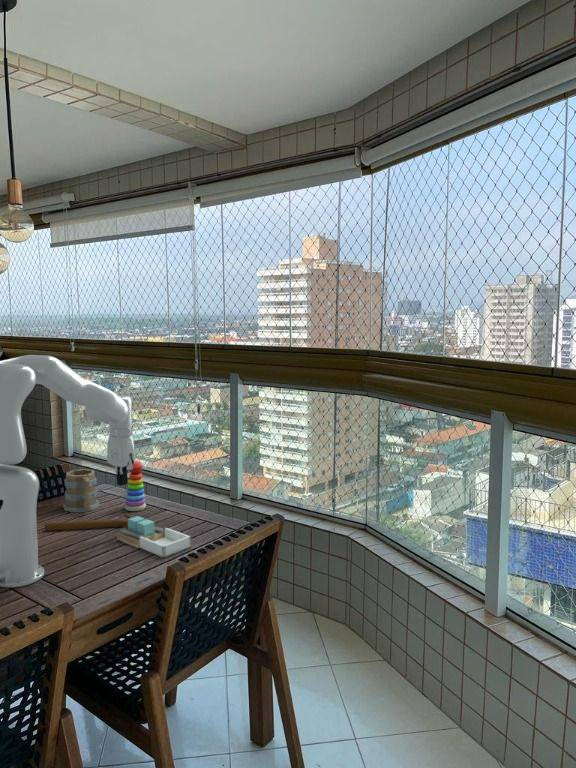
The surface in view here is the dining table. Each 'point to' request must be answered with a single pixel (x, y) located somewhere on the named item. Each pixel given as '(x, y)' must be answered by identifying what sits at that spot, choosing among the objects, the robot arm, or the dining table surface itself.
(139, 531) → the light teal cube
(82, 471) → the tankard
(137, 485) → the stacking toy
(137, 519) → the teal cube block
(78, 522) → the hammer
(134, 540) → the slot board
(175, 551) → the tray
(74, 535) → the dining table surface
